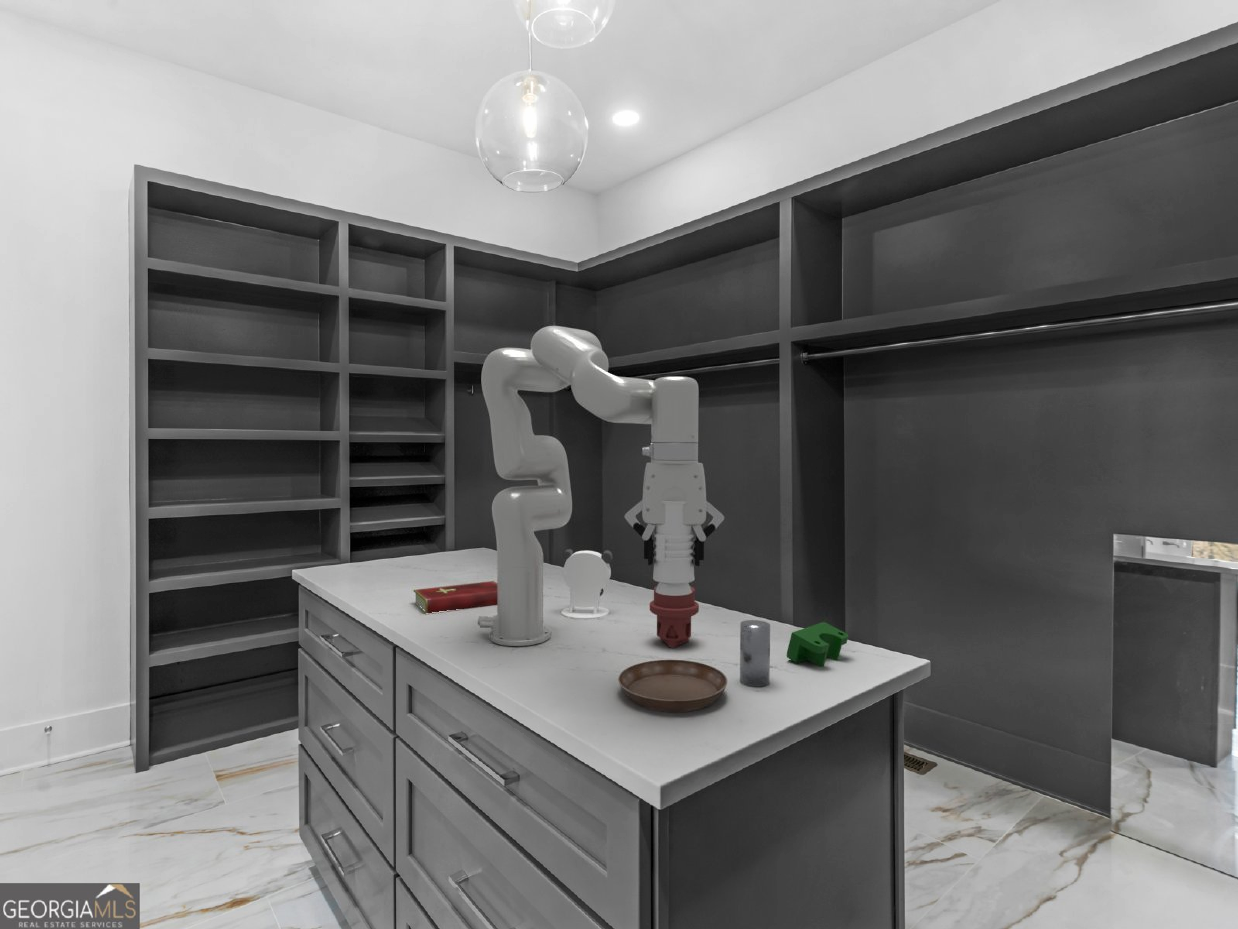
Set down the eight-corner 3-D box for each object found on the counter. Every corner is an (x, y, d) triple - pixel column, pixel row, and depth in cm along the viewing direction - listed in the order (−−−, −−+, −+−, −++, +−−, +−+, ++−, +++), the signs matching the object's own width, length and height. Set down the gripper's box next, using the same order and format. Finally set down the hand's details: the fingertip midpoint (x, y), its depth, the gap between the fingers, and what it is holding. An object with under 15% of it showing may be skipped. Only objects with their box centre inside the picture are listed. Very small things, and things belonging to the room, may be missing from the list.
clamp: (814, 689, 120) (813, 653, 115) (787, 673, 124) (786, 637, 120) (850, 654, 126) (851, 618, 122) (823, 639, 130) (823, 604, 126)
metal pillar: (741, 686, 109) (741, 627, 109) (738, 675, 114) (739, 619, 114) (771, 687, 109) (772, 628, 108) (767, 677, 114) (768, 620, 113)
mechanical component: (700, 637, 137) (696, 652, 127) (653, 634, 139) (645, 648, 129) (700, 579, 136) (696, 589, 126) (653, 577, 138) (646, 587, 128)
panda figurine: (614, 607, 161) (614, 547, 160) (608, 620, 149) (608, 555, 149) (566, 606, 162) (566, 546, 161) (557, 618, 151) (557, 554, 150)
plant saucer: (647, 727, 94) (647, 706, 94) (601, 685, 110) (601, 667, 110) (749, 707, 101) (749, 688, 101) (692, 670, 118) (692, 654, 117)
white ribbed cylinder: (643, 591, 105) (643, 499, 104) (670, 584, 110) (670, 496, 110) (677, 598, 100) (677, 502, 100) (703, 591, 105) (704, 499, 105)
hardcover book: (509, 605, 164) (509, 588, 164) (425, 616, 154) (425, 598, 153) (493, 595, 175) (493, 579, 174) (413, 605, 164) (413, 588, 164)
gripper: (618, 454, 102) (618, 567, 102) (730, 455, 100) (729, 570, 101) (622, 453, 109) (622, 559, 110) (727, 454, 107) (726, 561, 108)
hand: (673, 563), depth 105 cm, fingers closed on white ribbed cylinder, 6 cm apart
